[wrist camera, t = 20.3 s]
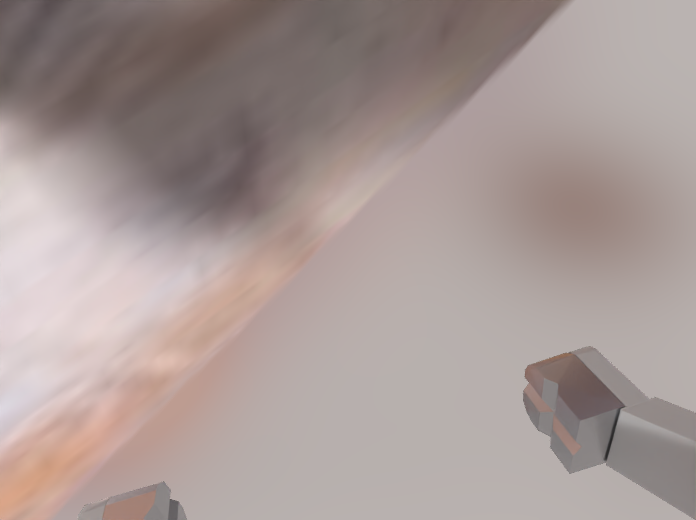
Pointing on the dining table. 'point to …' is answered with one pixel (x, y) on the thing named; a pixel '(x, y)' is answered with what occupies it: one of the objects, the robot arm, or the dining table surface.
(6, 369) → the dining table surface
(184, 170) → the dining table surface
